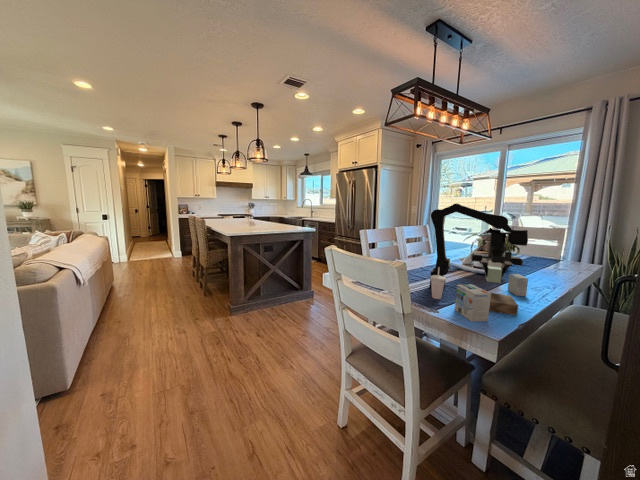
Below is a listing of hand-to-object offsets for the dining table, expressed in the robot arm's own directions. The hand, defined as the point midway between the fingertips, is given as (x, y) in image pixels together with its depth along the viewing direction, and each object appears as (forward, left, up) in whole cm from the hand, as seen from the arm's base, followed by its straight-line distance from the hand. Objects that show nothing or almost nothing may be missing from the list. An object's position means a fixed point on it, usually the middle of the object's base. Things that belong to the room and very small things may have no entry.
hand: (493, 277), depth 118 cm
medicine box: (+12, +12, -10) cm, 19 cm away
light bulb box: (-10, -27, -10) cm, 31 cm away
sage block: (0, 0, -2) cm, 2 cm away
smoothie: (-23, -13, -10) cm, 28 cm away
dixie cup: (+7, +40, -10) cm, 42 cm away
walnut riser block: (0, -13, -9) cm, 16 cm away
